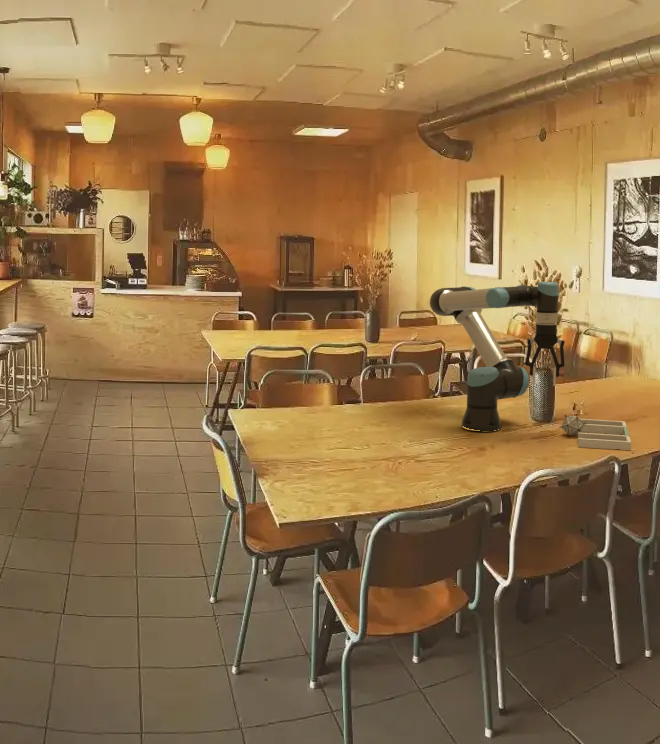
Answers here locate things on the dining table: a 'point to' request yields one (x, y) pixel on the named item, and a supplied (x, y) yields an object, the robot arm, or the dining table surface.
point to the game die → (572, 425)
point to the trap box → (604, 435)
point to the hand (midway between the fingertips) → (543, 384)
